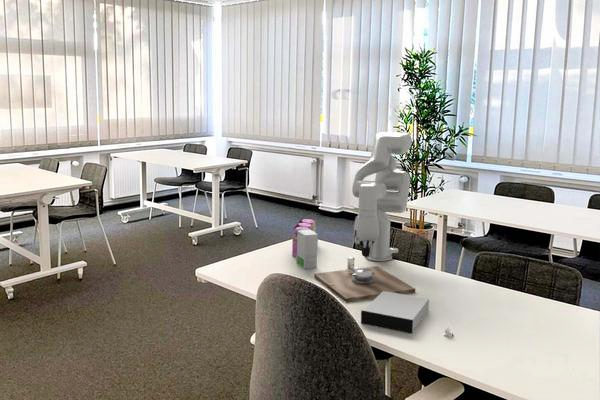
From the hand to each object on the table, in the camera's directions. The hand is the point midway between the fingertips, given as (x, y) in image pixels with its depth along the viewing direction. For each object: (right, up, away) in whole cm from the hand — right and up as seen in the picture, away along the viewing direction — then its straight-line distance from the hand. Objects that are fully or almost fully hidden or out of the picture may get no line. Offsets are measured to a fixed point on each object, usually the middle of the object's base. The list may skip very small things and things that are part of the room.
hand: (365, 256), depth 241 cm
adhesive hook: (+21, -21, -57) cm, 65 cm away
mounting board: (-2, -10, -10) cm, 15 cm away
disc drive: (+6, -18, -42) cm, 46 cm away
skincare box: (-25, -6, +13) cm, 28 cm away
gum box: (-25, -1, +36) cm, 44 cm away
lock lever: (-4, -7, -7) cm, 10 cm away
